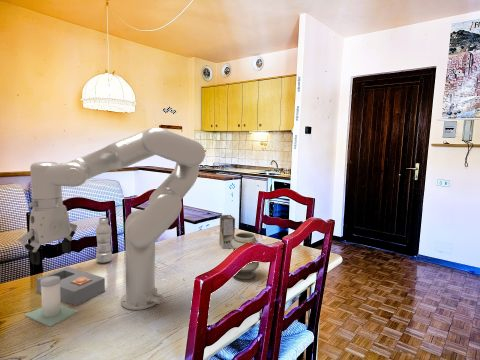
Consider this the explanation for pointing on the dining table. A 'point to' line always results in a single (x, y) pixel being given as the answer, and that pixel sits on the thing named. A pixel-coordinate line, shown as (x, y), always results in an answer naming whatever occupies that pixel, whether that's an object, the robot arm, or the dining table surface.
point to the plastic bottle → (103, 241)
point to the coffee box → (226, 231)
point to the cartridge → (50, 296)
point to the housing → (74, 292)
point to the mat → (51, 321)
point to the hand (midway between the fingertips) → (51, 257)
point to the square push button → (81, 281)
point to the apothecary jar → (246, 272)
